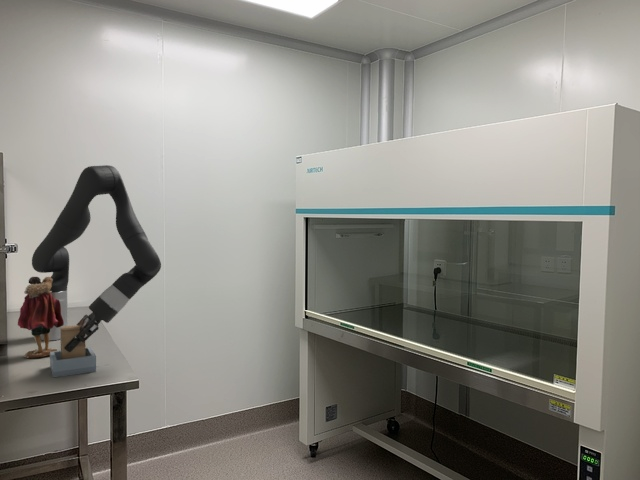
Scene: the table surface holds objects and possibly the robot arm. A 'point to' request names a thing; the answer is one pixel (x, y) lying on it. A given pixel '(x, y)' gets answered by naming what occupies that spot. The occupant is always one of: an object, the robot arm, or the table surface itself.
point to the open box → (72, 363)
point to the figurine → (40, 314)
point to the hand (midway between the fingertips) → (65, 347)
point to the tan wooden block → (66, 337)
